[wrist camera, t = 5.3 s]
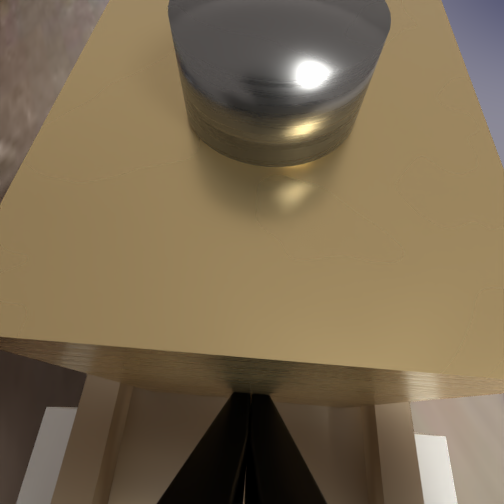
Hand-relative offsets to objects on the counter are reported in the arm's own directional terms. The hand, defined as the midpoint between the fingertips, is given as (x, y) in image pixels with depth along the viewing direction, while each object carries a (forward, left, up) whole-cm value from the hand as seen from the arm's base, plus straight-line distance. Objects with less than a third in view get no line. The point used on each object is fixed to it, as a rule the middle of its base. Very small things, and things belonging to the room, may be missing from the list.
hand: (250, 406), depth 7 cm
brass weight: (+4, -1, -3) cm, 5 cm away
